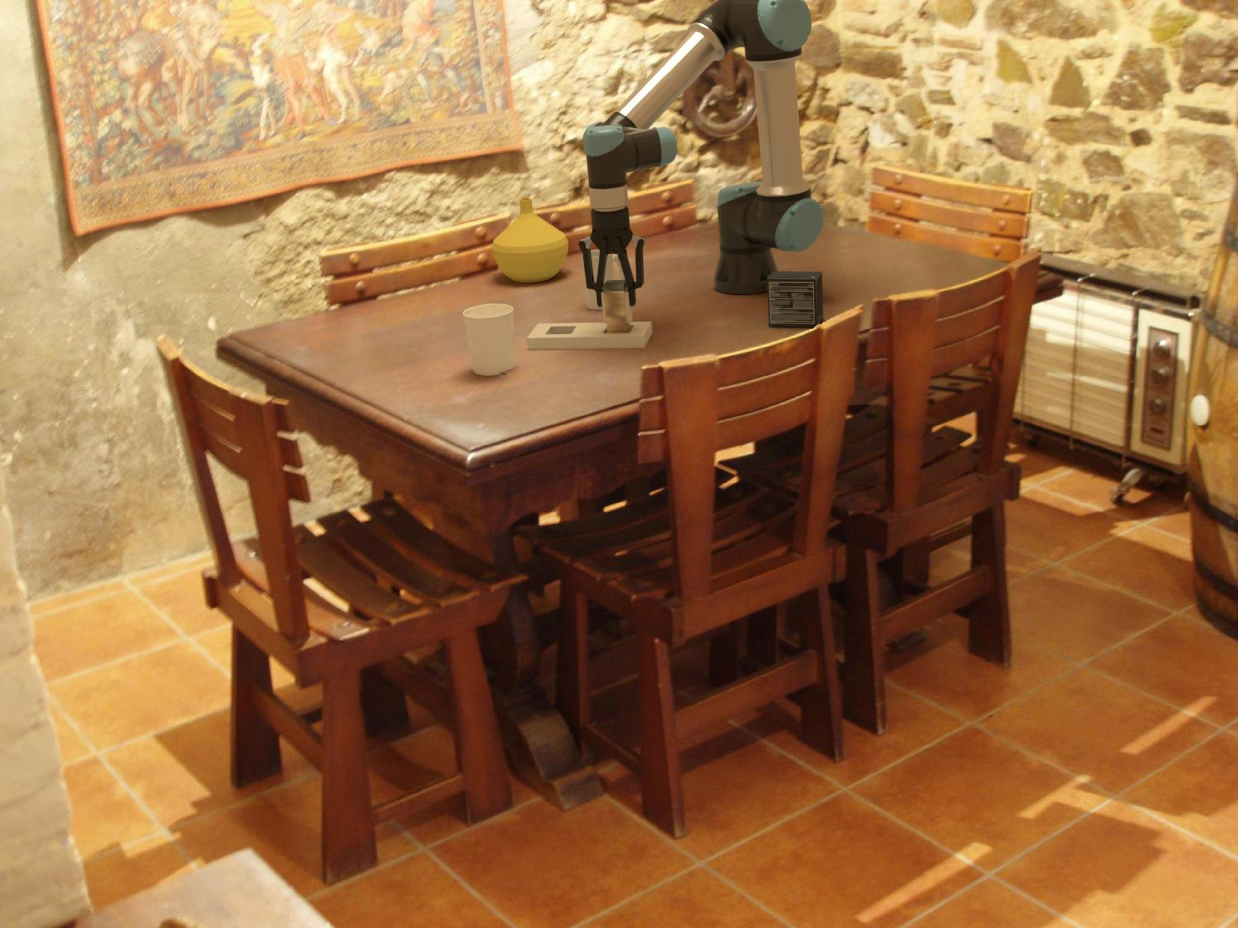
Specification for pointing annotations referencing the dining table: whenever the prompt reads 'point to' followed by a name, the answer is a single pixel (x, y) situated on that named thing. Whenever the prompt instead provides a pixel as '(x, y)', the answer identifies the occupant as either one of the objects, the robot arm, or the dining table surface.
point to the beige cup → (490, 338)
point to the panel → (587, 336)
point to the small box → (795, 299)
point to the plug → (615, 306)
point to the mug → (609, 275)
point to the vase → (530, 247)
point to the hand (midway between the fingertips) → (618, 321)
